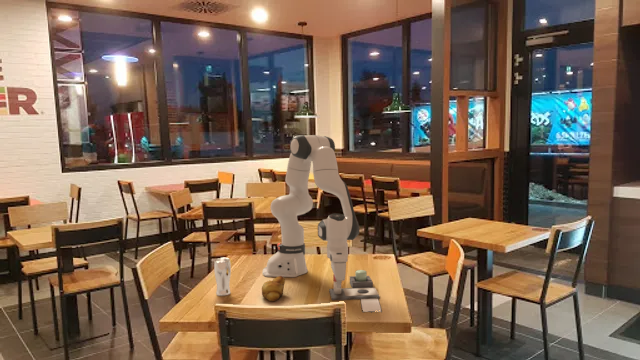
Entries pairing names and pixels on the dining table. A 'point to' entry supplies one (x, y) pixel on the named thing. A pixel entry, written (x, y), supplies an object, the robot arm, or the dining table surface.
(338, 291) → the marker
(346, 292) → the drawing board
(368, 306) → the smartphone
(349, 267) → the dining table surface
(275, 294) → the bread roll
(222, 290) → the beer glass
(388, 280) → the dining table surface
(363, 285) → the button base
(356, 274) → the button
